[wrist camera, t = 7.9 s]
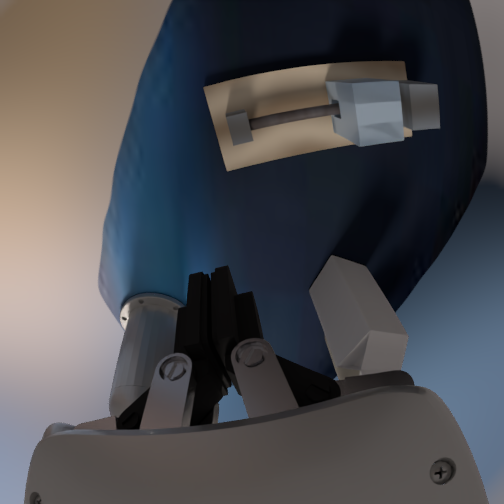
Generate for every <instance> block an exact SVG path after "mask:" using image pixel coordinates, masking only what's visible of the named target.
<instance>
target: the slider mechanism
mask: <svg viewBox="0 0 504 504" xmlns="http://www.w3.org/2000/svg"><path fill="white" fill-rule="evenodd" d="M356 78H374V79H385V80H395V81H399V88H400V96H401V106H402V117H403V130H404V137H409V136H412V130H422V129H434V128H440V117H439V101H438V89H437V85H436V84H430V83H424V82H417V81H409V80H407V76H406V69H405V63H404V61H365V62H345V63H332V64H322V65H313V66H304V67H297V68H290V69H284V70H278V71H272V72H267V73H261V74H256V75H251V76H247V77H242V78H238V79H234V80H229V81H225V82H221V83H218V84H214V85H210V86H206V87H203V88H204V92H205V95H206V99H207V102H208V106H209V110H210V113H211V117H212V120H213V124H214V127H215V131H216V134H217V138H218V141H219V145H220V148H221V152H222V155H223V159H224V162H225V166H226V170H227V171H231V170H234V169H238V168H242V167H246V166H250V165H254V164H258V163H263V162H267V161H271V160H276V159H280V158H284V157H289V156H294V155H298V154H303V153H308V152H313V151H318V150H324V149H329V148H335V147H340V146H346V145H352V144H355V143H353V142H351V141H349V140H347V139H346V138H344V137H342V136H340V135H338V134H336V133H334V130H333V124H332V117H331V115H337V114H340V107H339V103H335V104H329V100H328V94H327V89H326V83H325V81H334V80H344V79H356Z"/></svg>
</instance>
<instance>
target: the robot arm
mask: <svg viewBox="0 0 504 504" xmlns="http://www.w3.org/2000/svg"><path fill="white" fill-rule="evenodd" d="M120 321H121V324H122V327H123V328H124V330H125V333H124V337H123V341H122V345H121V349H120V353H119V357H118V361H117V366H116V370H115V375H114V379H113V384H112V389H111V394H110V399H109V411H110V415H111V417H107V418H103V419H99V420H95V421H90V422H86V423H81V424H79V425H77V426H73V425H70V424H66V423H54V424H51V425H50V426H49V427H48V428H47V429H46V431H45V432H44V435H43V438H42V440H41V441H40V442H39V443H38V444H37V446H36V448H35V450H34V453H33V455H32V459H31V462H30V467H29V471H28V477H27V483H26V490H25V500H24V504H489V503H488V500H487V496H486V492H485V489H484V486H483V482H482V479H481V476H480V474H479V471H478V468H477V466H476V463H475V460H474V458H473V455H472V453H471V450H470V448H469V446H468V444H467V442H466V439H465V437H464V435H463V433H462V431H461V429H460V427H459V425H458V423H457V422H456V420H455V418H454V417H453V415H452V413H451V411H450V410H449V409H448V407H447V406H446V404H445V403H444V402H443V400H442V399H441V398H440V397H439V396H438V395H437V394H436V393H434V392H433V391H431V390H430V389H427V388H424V387H420V386H415V385H414V381H413V379H412V377H411V376H410V375H409V374H408V373H407V372H404V371H401V370H393V371H387V372H380V373H374V374H366V375H359V376H350V377H345V380H337V381H335V380H333V379H331V378H330V377H327V376H325V375H322V374H320V373H317V372H315V371H312V370H310V369H308V368H305V367H303V366H300V365H298V364H296V363H293V362H291V361H289V360H287V359H284V358H282V357H280V356H278V355H275V353H274V351H273V349H272V347H271V345H270V344H269V343H268V342H267V341H265V340H264V338H263V333H262V328H261V323H260V319H259V315H258V310H257V306H256V303H255V299H254V296H253V292H252V291H251V292H247V293H242V294H238V295H237V292H236V289H235V286H234V282H233V279H232V276H231V273H230V270H229V267H228V265H227V266H223V267H219V268H215V272H213V273H211V280H210V278H209V275H208V274H203V272H198V273H194V274H190V275H189V283H188V293H187V304H186V306H185V305H183V304H182V303H181V302H179V301H178V300H176V299H174V298H172V297H169V296H166V295H163V294H157V293H143V294H138V295H135V296H133V297H131V298H130V299H128V300H127V301H126V302H125V303H124V305H123V307H122V309H121V313H120ZM231 381H232V383H233V385H234V386H235V388H236V390H237V392H238V394H239V395H241V396H242V398H243V401H244V404H245V407H246V410H247V413H248V417H249V418H248V419H242V420H236V421H229V422H223V423H218V414H219V404H218V402H219V401H220V400H221V399H222V397H223V396H225V395H228V390H227V388H228V387H231ZM433 463H434V464H433ZM444 483H445V484H444ZM443 484H444V485H443Z"/></svg>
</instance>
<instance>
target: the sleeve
mask: <svg viewBox="0 0 504 504" xmlns="http://www.w3.org/2000/svg"><path fill="white" fill-rule="evenodd" d="M325 83H326V89H327V94H328V100H329V104H335V103H339V107H340V114H337V115H331V117H332V124H333V130H334V133H336V134H338V135H340V136H342V137H344V138H346V139H347V140H349V141H351V142H353V143H355V144H356V145H358V146H360V147H362V146H368V145H374V144H381V143H388V142H396V141H403V140H404V130H403V117H402V106H401V96H400V88H399V81H395V80H385V79H374V78H356V79H344V80H334V81H325Z"/></svg>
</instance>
